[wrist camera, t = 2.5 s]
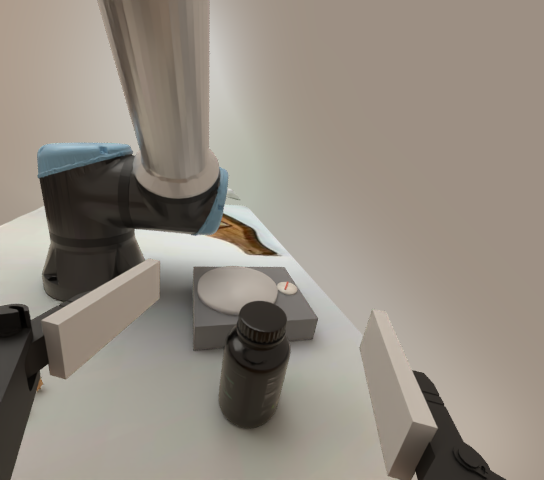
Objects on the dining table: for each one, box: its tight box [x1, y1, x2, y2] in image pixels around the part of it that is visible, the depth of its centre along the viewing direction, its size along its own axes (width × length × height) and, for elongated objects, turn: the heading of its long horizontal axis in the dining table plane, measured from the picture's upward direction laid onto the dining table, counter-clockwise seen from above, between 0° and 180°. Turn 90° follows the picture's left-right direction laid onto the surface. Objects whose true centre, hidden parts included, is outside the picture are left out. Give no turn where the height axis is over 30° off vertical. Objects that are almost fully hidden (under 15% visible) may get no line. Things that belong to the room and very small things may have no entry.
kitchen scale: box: [193, 266, 318, 350], centre depth 43 cm, size 18×16×5 cm
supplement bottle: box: [219, 301, 290, 428], centre depth 27 cm, size 7×7×12 cm
